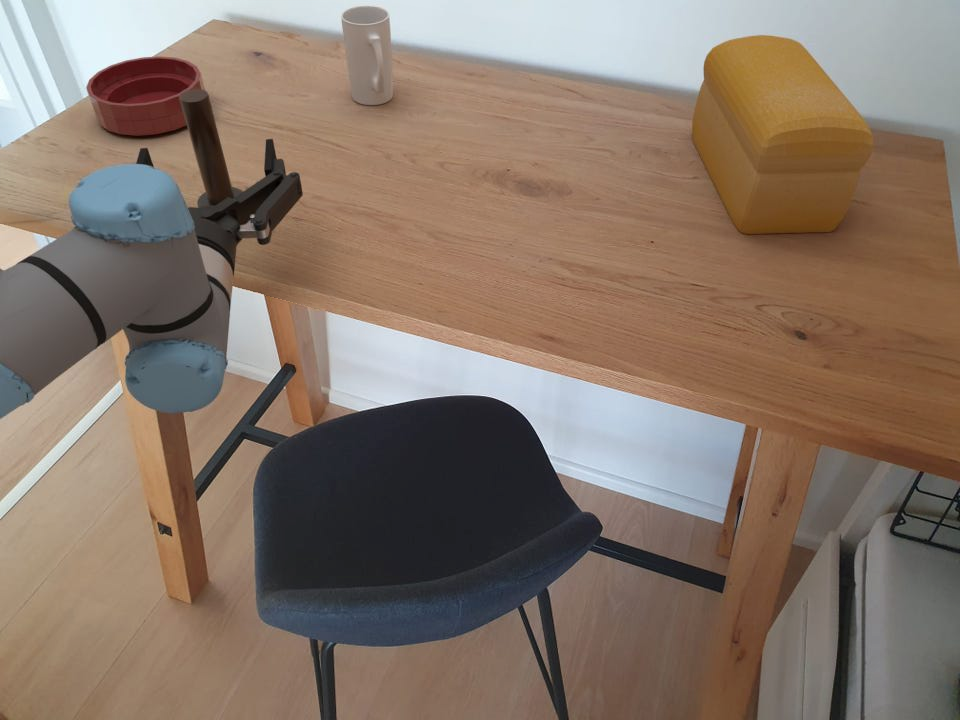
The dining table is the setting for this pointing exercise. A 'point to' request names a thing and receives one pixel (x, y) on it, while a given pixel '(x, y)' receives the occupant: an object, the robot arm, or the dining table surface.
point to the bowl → (143, 94)
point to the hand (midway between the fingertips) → (210, 154)
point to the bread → (778, 137)
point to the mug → (368, 54)
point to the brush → (207, 148)
